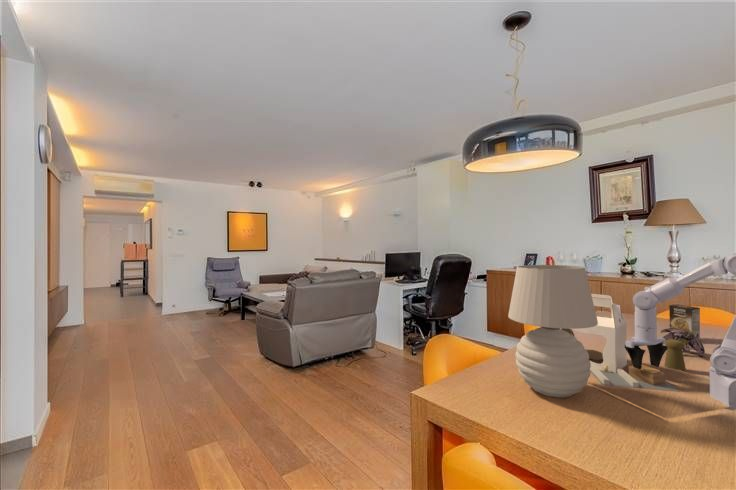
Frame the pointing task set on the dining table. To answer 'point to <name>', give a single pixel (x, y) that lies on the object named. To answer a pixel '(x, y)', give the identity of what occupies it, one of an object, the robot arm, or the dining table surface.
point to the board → (626, 380)
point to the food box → (685, 318)
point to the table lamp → (552, 327)
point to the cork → (675, 355)
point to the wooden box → (647, 375)
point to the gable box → (608, 335)
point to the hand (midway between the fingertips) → (646, 366)
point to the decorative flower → (685, 339)
